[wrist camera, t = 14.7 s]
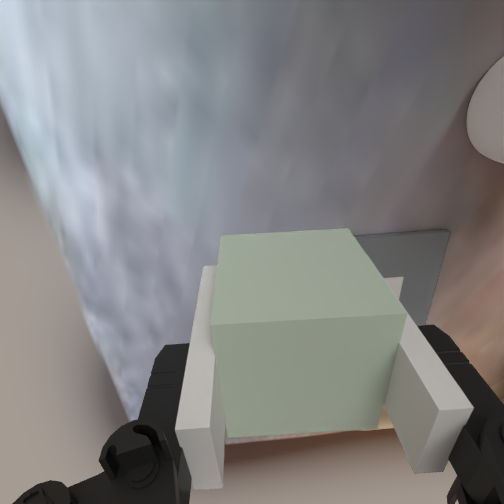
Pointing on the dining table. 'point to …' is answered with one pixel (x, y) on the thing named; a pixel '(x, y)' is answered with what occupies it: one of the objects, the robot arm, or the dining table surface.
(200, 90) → the dining table surface
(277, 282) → the sage block
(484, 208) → the dining table surface
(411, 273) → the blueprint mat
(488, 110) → the cup
